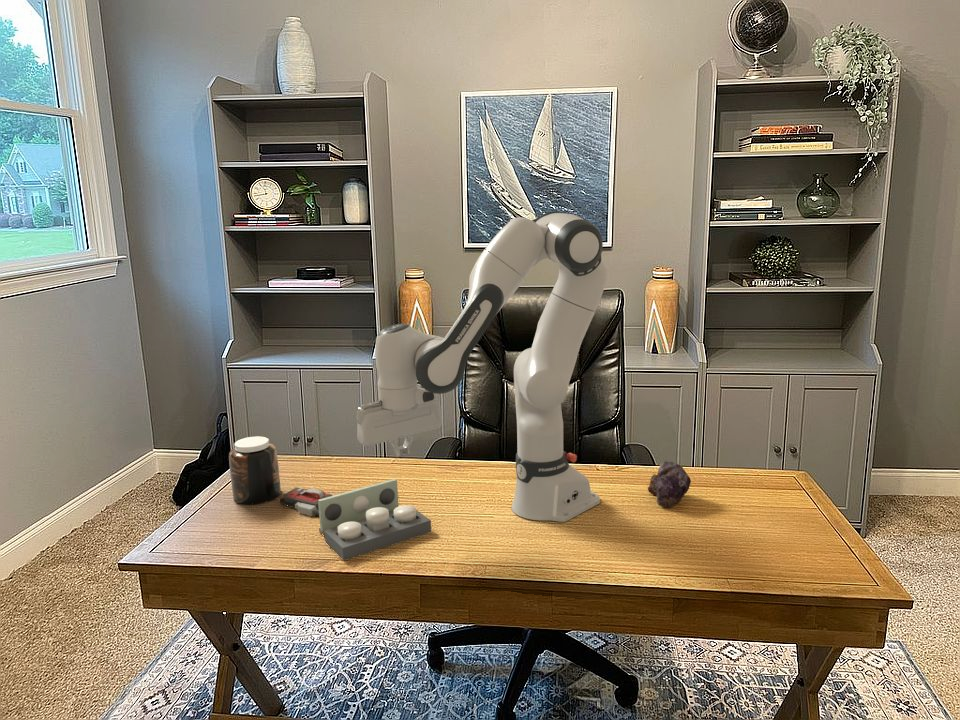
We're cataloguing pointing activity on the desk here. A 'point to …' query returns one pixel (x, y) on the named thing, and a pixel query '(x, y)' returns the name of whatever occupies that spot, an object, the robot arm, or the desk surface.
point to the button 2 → (404, 513)
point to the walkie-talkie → (304, 500)
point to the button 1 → (349, 530)
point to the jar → (254, 471)
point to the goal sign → (356, 504)
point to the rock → (669, 484)
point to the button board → (377, 536)
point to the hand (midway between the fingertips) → (402, 454)
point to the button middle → (377, 519)
